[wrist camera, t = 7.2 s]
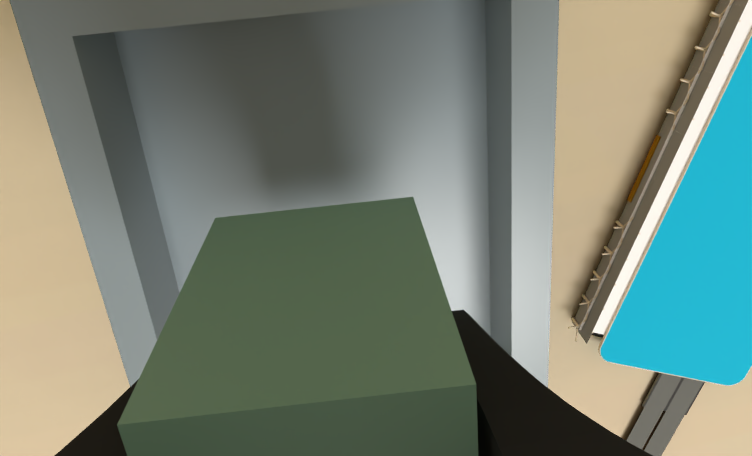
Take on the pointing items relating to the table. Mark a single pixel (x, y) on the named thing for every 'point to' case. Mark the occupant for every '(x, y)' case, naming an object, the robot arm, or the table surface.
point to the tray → (305, 137)
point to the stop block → (309, 344)
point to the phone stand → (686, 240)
